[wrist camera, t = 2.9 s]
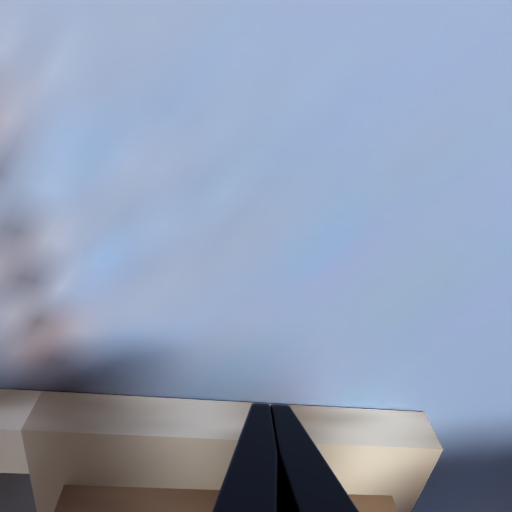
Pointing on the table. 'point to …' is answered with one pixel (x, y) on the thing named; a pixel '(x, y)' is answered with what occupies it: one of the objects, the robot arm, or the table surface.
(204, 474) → the trap deck
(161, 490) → the bar
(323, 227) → the table surface
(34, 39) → the table surface
